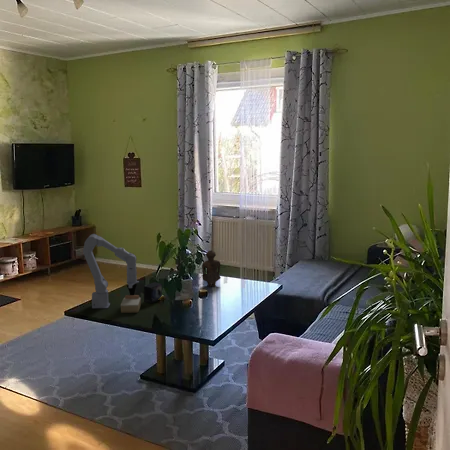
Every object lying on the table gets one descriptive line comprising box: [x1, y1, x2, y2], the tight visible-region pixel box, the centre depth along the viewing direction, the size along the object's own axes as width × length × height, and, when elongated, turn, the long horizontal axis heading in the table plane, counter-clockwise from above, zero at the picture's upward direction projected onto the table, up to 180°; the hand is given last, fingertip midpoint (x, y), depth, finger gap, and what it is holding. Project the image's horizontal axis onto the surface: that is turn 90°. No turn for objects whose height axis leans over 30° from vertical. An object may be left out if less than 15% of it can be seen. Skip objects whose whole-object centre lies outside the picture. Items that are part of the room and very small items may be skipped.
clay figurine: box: [201, 250, 221, 288], centre depth 331 cm, size 13×10×25 cm
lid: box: [120, 294, 142, 307], centre depth 285 cm, size 10×13×3 cm
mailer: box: [120, 298, 142, 314], centre depth 287 cm, size 10×13×4 cm
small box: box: [143, 281, 163, 304], centre depth 301 cm, size 11×6×10 cm, turn 148°
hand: (132, 296), depth 292 cm, fingers closed
